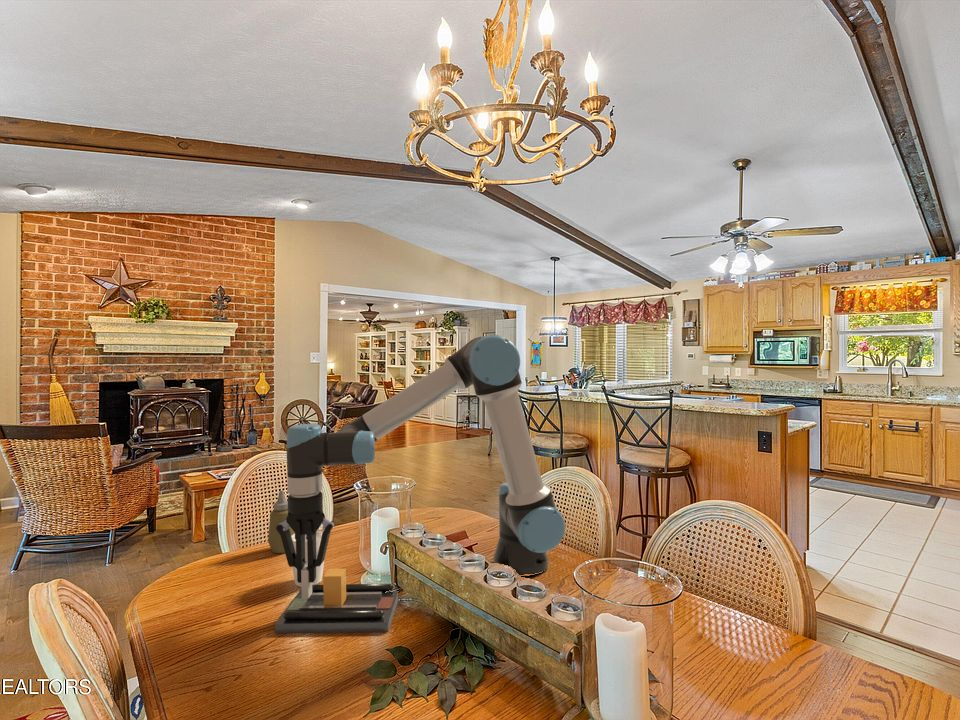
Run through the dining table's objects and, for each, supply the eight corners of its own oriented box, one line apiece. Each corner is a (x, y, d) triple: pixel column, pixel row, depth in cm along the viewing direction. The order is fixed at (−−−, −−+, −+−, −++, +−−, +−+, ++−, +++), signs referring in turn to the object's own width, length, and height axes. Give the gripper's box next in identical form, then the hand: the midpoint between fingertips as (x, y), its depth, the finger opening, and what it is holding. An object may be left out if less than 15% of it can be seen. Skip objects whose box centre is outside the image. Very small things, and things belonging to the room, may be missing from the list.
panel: (399, 595, 121) (399, 580, 121) (388, 631, 105) (388, 614, 105) (301, 596, 121) (301, 581, 121) (275, 633, 105) (274, 616, 105)
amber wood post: (346, 598, 115) (345, 568, 115) (341, 607, 111) (341, 576, 111) (329, 598, 115) (328, 568, 115) (323, 607, 111) (323, 576, 111)
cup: (332, 574, 133) (331, 529, 133) (318, 590, 124) (317, 542, 124) (300, 573, 134) (299, 529, 134) (283, 589, 125) (282, 541, 125)
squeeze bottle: (302, 548, 151) (301, 489, 151) (279, 557, 144) (278, 496, 144) (285, 543, 156) (284, 486, 155) (262, 552, 149) (261, 492, 149)
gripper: (338, 487, 117) (340, 587, 117) (282, 488, 117) (284, 588, 117) (328, 497, 109) (330, 603, 109) (269, 498, 109) (271, 604, 109)
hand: (307, 595), depth 113 cm, fingers closed
